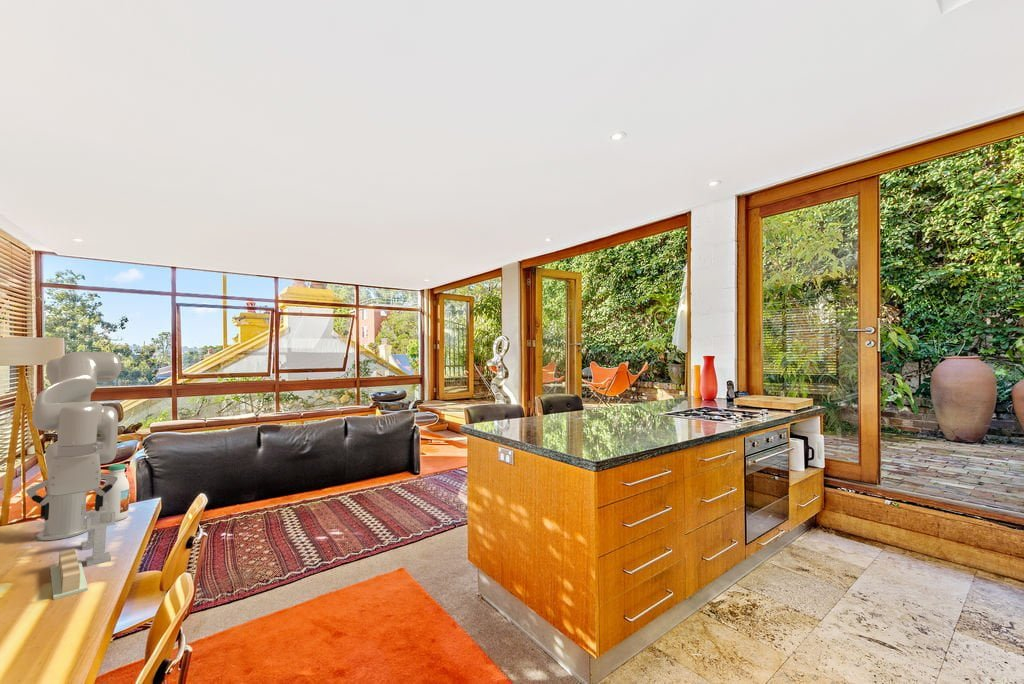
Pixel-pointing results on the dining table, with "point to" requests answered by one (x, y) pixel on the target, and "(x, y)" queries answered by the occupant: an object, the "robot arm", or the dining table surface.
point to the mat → (57, 583)
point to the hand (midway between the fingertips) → (72, 514)
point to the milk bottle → (117, 494)
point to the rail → (69, 570)
